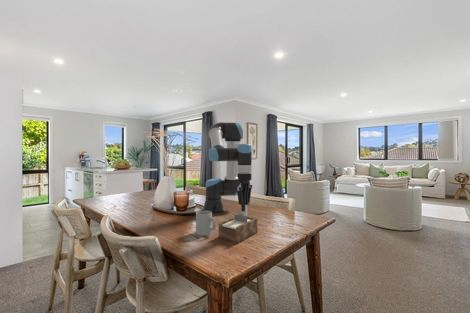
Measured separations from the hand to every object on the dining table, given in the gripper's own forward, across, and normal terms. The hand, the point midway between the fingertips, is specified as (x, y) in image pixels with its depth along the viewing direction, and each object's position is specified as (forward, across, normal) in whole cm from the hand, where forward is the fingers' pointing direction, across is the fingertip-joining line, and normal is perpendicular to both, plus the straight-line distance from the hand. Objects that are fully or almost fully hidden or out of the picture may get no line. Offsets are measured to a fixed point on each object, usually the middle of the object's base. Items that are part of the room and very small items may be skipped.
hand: (244, 216), depth 122 cm
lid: (+2, +6, 0) cm, 6 cm away
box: (+8, +6, 0) cm, 10 cm away
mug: (+9, +14, -15) cm, 22 cm away
